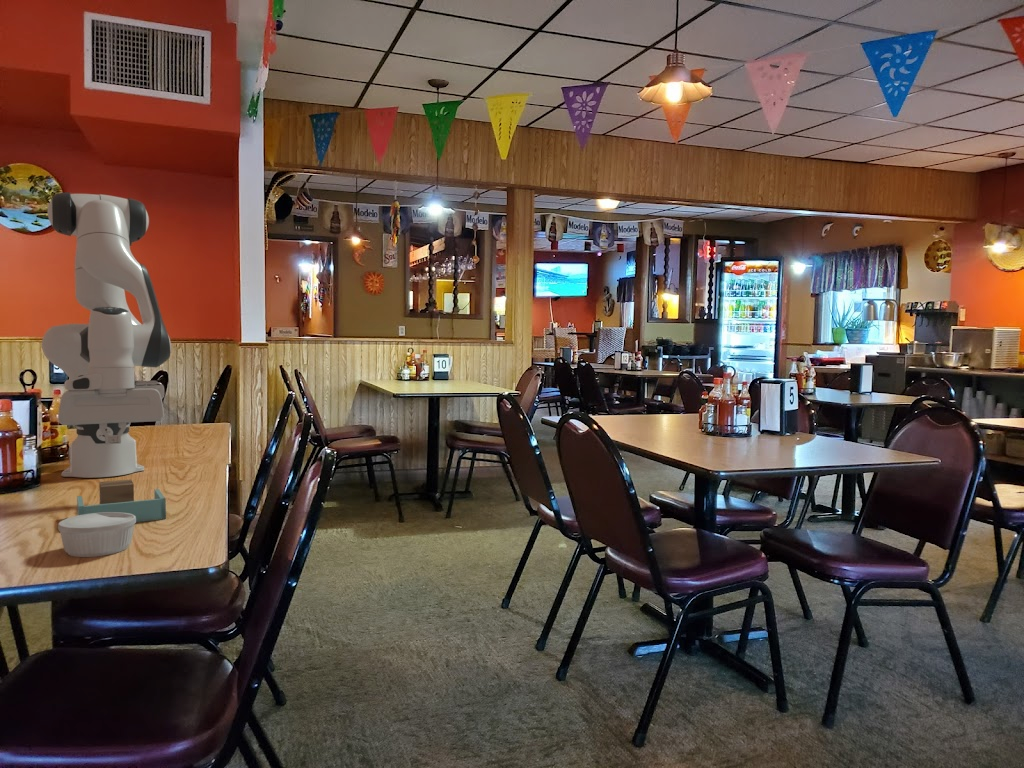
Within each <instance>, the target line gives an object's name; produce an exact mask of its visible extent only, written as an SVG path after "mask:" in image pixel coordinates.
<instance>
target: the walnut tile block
mask: <svg viewBox="0 0 1024 768" xmlns="http://www.w3.org/2000/svg"><path fill="white" fill-rule="evenodd" d="M98 483H99V485H98V487H99V504H109V503H119V502H130V501H135V493H134V487H135V485H134V482H133V480H132V479H121V480H119V479H118V480H109V481H108V480H105V481H99V482H98Z"/></svg>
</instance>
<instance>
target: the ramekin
mask: <svg viewBox="0 0 1024 768" xmlns="http://www.w3.org/2000/svg"><path fill="white" fill-rule="evenodd" d="M136 523H137V522H136V516H135V515H133V514H129V513H121V512H102V513H91V514H84V515H78V516H77V515H74V516H70V517H68V518H67V517H66V518H64V519H63V520H61V521H59V522H58V525H57V527H58V528H57V529H58V531H59V532H60V537H61V541H62V545H63V550H64V552H65V553H67V555H69V556H71V557H75V558H96V557H104V556H109V555H114V554H118V553H120V552H123V551H125V550H127V549H128V548H129V546H130V545H131V544H132V540H133V534H134V529H135V524H136Z"/></svg>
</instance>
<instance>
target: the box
mask: <svg viewBox="0 0 1024 768" xmlns="http://www.w3.org/2000/svg"><path fill="white" fill-rule="evenodd" d="M153 493H154V495H153V496H154V498H151V499H141V500H140V499H139V500H134V501H130V502H119V503H109V504H100V503H99V504H90V505H84V500H83V496H82V495H77V496H76V508H77V509H76V511H77V513H76V514H77V515H76V516H78V515H84V514H91V513H102V512H121V513H129V514H133V515H135V516H136V523H140V522H150V521H158V520H160V521H161V520H167V509H166V507H167V506H166V505H167V503H166V502H167V501H166V497H165V496H164V495H163V493H162V492H161V490H160V489H159V488H155V489H154V491H153Z"/></svg>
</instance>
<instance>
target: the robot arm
mask: <svg viewBox="0 0 1024 768" xmlns="http://www.w3.org/2000/svg"><path fill="white" fill-rule="evenodd" d="M47 217H48V220H49V223H50V224H51V226H52V229H53V230H54V231H55V232H56V233H59V234H61V235H65V236H69V237H71V236H76V247H75V255H74V256H75V257H74V284H75V285H74V286H75V287H74V288H75V289H74V290H75V292H74V293H75V295H74V296H75V299H76V301H77V303H78V304H79V305H80V306H81V307H83V308H84V309H86V310H88V311H89V312H90V313H89V320H88V323H67V324H66V323H65V324H60V325H53V326H50V328H48V329H47V331H46V332H45V333H44V335H43V337H42V340H41V349H42V353H43V354H44V356H45V358H46V359H47V360H48V361H49V362H50V363H51V364H53V365H55V366H56V367H57V368H59V369H60V370H61V371H63V373H64V374H66V375H67V377H68V379H67V380H65V381H64V388H65V390H66V391H64V392H63V393H62V395H61V398H60V401H59V407H58V417H57V421H58V423H59V424H61V425H62V426H75V429H76V431H75V432H76V435H77V436H76V437H75V439H74V440H73V441H72V442H71V443H70V446H69V447H68V458H69V459H68V463H69V466H68V467H67V468H65V469H64V470H63V471H62V472H61V477H63V478H64V477H72V478H73V477H74V478H85V479H86V478H89V479H90V478H91V479H92V478H95V479H96V478H110V477H117V476H124V475H129V474H133V473H137V472H141V471H145V465H142V464H139V463H138V459H137V458H138V457H137V443H136V442H137V441H136V439H134V438H133V437H132V436H131V435H130V434H129V432H130V425H131V424H130V423H144V422H145V423H146V422H161V421H162V420H163V419H164V418H165V413H164V412H165V411H164V405H163V404H164V403H163V399H164V397H165V386H164V384H162V383H161V382H158V380H153V379H152V380H135V367H143V368H158V367H160V366H162V365H163V364H165V363H166V362H167V361H169V359H170V357H171V353H172V342H171V338H170V336H169V334H168V332H167V328H166V326H165V322H164V320H163V317H162V313H161V310H160V305H159V303H158V302H159V301H158V299H157V295H156V292H155V289H154V285H153V281H152V280H151V279H152V278H151V276H150V273H149V271H148V269H147V267H146V266H145V265H144V264H142V263H140V262H138V261H137V259H136V258H135V257H134V255H133V253H132V251H131V246H132V244H133V243H135V242H138V241H140V240H141V239H142V238H144V237H145V236H146V232H147V230H148V228H149V224H150V217H149V214H148V211H147V209H146V206H145V204H144V203H143V202H142V201H139V200H137V199H134V198H130V197H129V198H125V197H120V196H114V195H108V194H103V193H102V194H101V193H99V194H92V193H71V192H67V191H66V192H58V193H55V194H54V195H53V196H52V197H51V200H50V202H49V203H48V206H47ZM126 292H127V293H130V294H131V295H132V296H133V297H134V298H135V299H136V303H137V305H138V310H139V313H140V316H141V321H142V323H141V322H140V321H139V320H138V319H137V318H136V317H135V315H134V314H133V313H132V312H131V310H130V307H129V305H128V303H127V298H126Z"/></svg>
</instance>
